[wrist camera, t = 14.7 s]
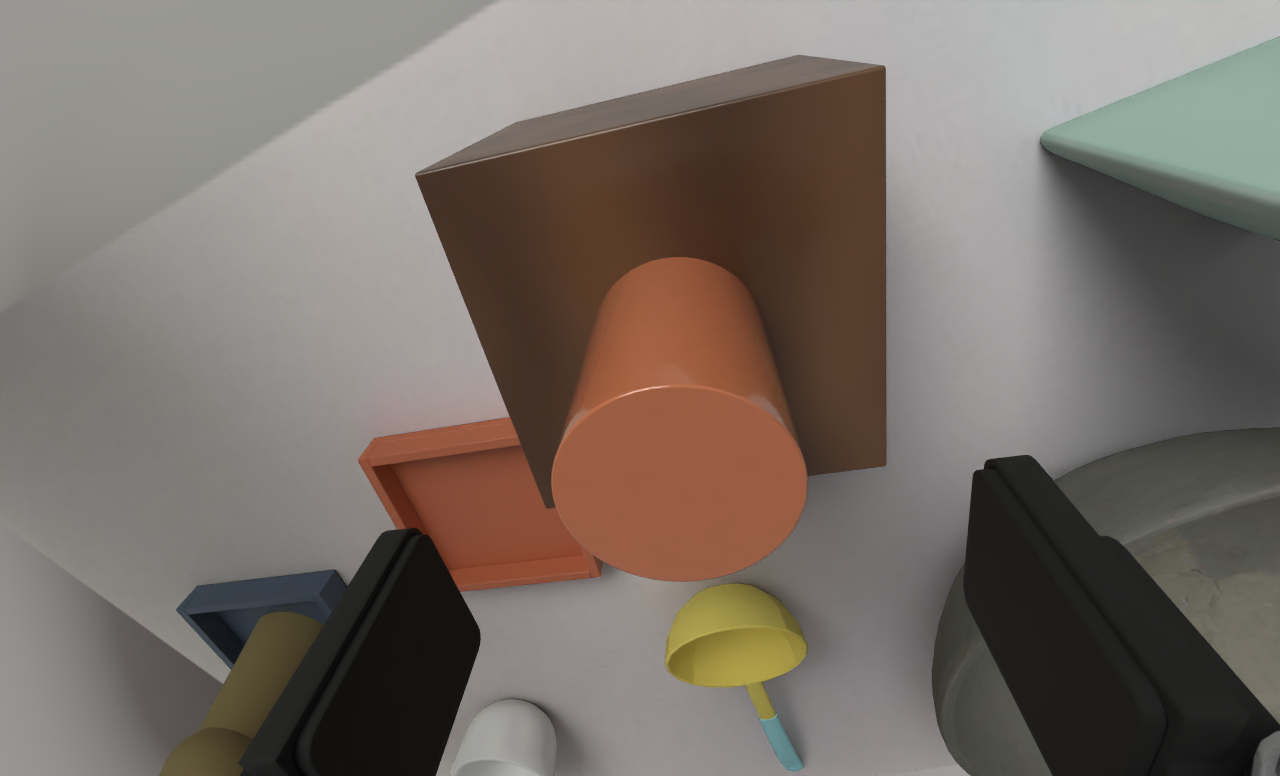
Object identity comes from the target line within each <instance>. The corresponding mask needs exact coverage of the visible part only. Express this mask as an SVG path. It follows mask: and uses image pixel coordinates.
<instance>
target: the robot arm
mask: <svg viewBox="0 0 1280 776" xmlns="http://www.w3.org/2000/svg"><path fill="white" fill-rule="evenodd" d="M963 590H964V596H965V600H966V603H967V606H968V608H969V610H970V612H971V614H972V616H973V618H974V620H975V622H976V624H977V626H978V628H979V630H980V632H981V634H982V636H983V638H984V640H985V642H986V644H987V646H988V648H989V650H990V652H991V654H992V656H993V658H994V660H995V662H996V664H997V666H998V668H999V670H1000V672H1001V674H1002V676H1003V678H1004V680H1005V682H1006V684H1007V686H1008V688H1009V690H1010V692H1011V694H1012V696H1013V698H1014V700H1015V702H1016V704H1017V706H1018V708H1019V710H1020V712H1021V714H1022V716H1023V718H1024V720H1025V722H1026V724H1027V726H1028V728H1029V730H1030V732H1031V734H1032V736H1033V738H1034V740H1035V742H1036V744H1037V746H1038V748H1039V750H1040V752H1041V754H1042V756H1043V758H1044V760H1045V762H1046V764H1047V766H1048V768H1049V770H1050V772H1051V774H1052V776H1280V724H1279V723H1278V722H1277V721H1276V720H1275V718H1274V717H1273V716H1272V715H1271V714H1270V713H1269V712H1268V710H1267V709H1266V708H1265V707H1264V706H1263V705H1262V703H1261V702H1260V701H1259V700H1258V699H1257V698H1256V697H1255V695H1254V694H1253V693H1252V692H1251V691H1250V690H1249V689H1248V687H1247V686H1246V685H1245V684H1244V683H1243V682H1242V681H1241V679H1240V678H1239V677H1238V676H1237V675H1236V674H1235V673H1234V671H1233V670H1232V669H1231V668H1230V667H1229V666H1228V665H1227V663H1226V662H1225V661H1224V660H1223V659H1222V658H1221V656H1220V655H1219V654H1218V653H1217V652H1216V651H1215V650H1214V648H1213V647H1212V646H1211V645H1210V644H1209V643H1208V642H1207V640H1206V639H1205V638H1204V637H1203V636H1202V635H1201V634H1200V632H1199V631H1198V630H1197V629H1196V628H1195V627H1194V626H1193V624H1192V623H1191V622H1190V621H1189V620H1188V619H1187V618H1186V616H1185V615H1184V614H1183V613H1182V612H1181V611H1180V610H1179V608H1178V607H1177V606H1176V605H1175V604H1174V603H1173V601H1172V600H1171V599H1170V598H1169V597H1168V596H1167V595H1166V593H1165V592H1164V591H1163V590H1162V589H1161V588H1160V587H1159V585H1158V584H1157V583H1156V582H1155V581H1154V580H1153V579H1152V577H1151V576H1150V575H1149V574H1148V573H1147V572H1146V571H1145V569H1144V568H1143V567H1142V566H1141V565H1140V564H1139V563H1138V561H1137V560H1136V559H1135V558H1134V557H1133V556H1132V554H1131V553H1130V552H1129V551H1128V550H1127V549H1126V548H1125V547H1124V546H1123V545H1122V544H1121V543H1120V542H1119V541H1118V540H1116V539H1114V538H1112V537H1110V536H1099V535H1098V533H1097V532H1096V531H1095V530H1094V529H1093V527H1092V526H1091V525H1090V524H1089V523H1088V521H1087V520H1086V519H1085V518H1084V517H1083V516H1082V514H1081V513H1080V512H1079V511H1078V510H1077V508H1076V507H1075V506H1074V505H1073V504H1072V502H1071V501H1070V500H1069V499H1068V498H1067V496H1066V495H1065V494H1064V493H1063V492H1062V491H1061V489H1060V488H1059V487H1058V486H1057V485H1056V483H1055V482H1054V481H1053V480H1052V479H1051V477H1050V476H1049V475H1048V474H1047V473H1046V472H1045V470H1044V469H1043V468H1042V467H1041V466H1040V464H1039V463H1038V462H1037V461H1036V460H1035V459H1034V458H1033V457H1032V456H1029V455H1021V456H1013V457H1004V458H996V459H989V460H987V461H986V463H985V465H984V469H983V470H976V471H975V472H974V474H973V481H972V492H971V503H970V514H969V526H968V537H967V548H966V559H965V570H964V581H963ZM480 640H481V639H480V629H479V627H478V625H477V623H476V621H475V619H474V617H473V615H472V614H471V612H470V610H469V608H468V606H467V604H466V602H465V601H464V599H463V597H462V595H461V593H460V591H459V589H458V587H457V586H456V584H455V582H454V580H453V578H452V576H451V574H450V573H449V571H448V569H447V567H446V565H445V563H444V561H443V560H442V558H441V556H440V554H439V552H438V550H437V548H436V547H435V545H434V543H433V541H432V539H431V538H430V537H429V536H428V535H424V534H423V533H422V532H421V530H419V529H417V528H407V529H399V530H390V531H385V532H383V533H382V534H381V535H380V536H379V537H378V539H377V541H376V542H375V544H374V545H373V547H372V549H371V550H370V552H369V553H368V555H367V557H366V558H365V560H364V562H363V563H362V565H361V566H360V568H359V570H358V571H357V573H356V574H355V576H354V578H353V579H352V581H351V582H350V584H349V586H348V587H347V589H346V590H345V592H344V594H343V595H342V597H341V598H340V600H339V602H338V603H337V605H336V607H335V608H334V610H333V611H332V613H331V615H330V616H329V618H328V619H327V621H326V623H325V624H324V626H323V627H322V629H321V631H320V632H319V634H318V635H317V637H316V639H315V640H314V642H313V644H312V645H311V647H310V648H309V650H308V652H307V653H306V655H305V656H304V658H303V660H302V661H301V663H300V664H299V666H298V668H297V669H296V671H295V672H294V674H293V676H292V677H291V679H290V680H289V682H288V684H287V685H286V687H285V689H284V690H283V692H282V693H281V695H280V697H279V698H278V700H277V701H276V703H275V705H274V706H273V708H272V709H271V711H270V713H269V714H268V716H267V717H266V719H265V721H264V722H263V724H262V726H261V727H260V729H259V730H258V732H257V734H256V735H255V737H254V738H253V740H252V742H251V743H250V745H249V746H248V748H247V750H246V751H245V753H244V754H243V756H242V758H241V759H240V761H239V762H238V764H239V765H240V766H241V767H243V768H244V769H243V771H242V772H241V774H240V776H436V773H437V770H438V767H439V764H440V761H441V758H442V755H443V753H444V750H445V747H446V744H447V741H448V738H449V735H450V732H451V729H452V726H453V723H454V720H455V717H456V715H457V712H458V709H459V706H460V703H461V700H462V697H463V694H464V691H465V688H466V685H467V682H468V679H469V676H470V674H471V671H472V668H473V665H474V662H475V659H476V656H477V653H478V650H479V646H480Z"/></svg>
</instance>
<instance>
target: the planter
mask: <svg viewBox="0 0 1280 776" xmlns="http://www.w3.org/2000/svg"><path fill="white" fill-rule="evenodd" d="M1040 141H1041V143H1042V145H1043V146H1044V147H1045V148H1046V149H1047V150H1048V151H1050V152H1052V153H1053V154H1056V155H1058V156H1061V157H1063V158H1066V159H1068V160H1071V161H1074V162H1076V163H1079V164H1081V165H1084V166H1086V167H1088V168H1091V169H1093V170H1096V171H1098V172H1101V173H1103V174H1106V175H1108V176H1110V177H1113V178H1115V179H1118V180H1120V181H1123V182H1125V183H1127V184H1130V185H1132V186H1134V187H1137V188H1139V189H1141V190H1144V191H1146V192H1149V193H1151V194H1153V195H1156V196H1158V197H1160V198H1163V199H1165V200H1168V201H1170V202H1172V203H1175V204H1177V205H1180V206H1182V207H1184V208H1187V209H1189V210H1192V211H1194V212H1197V213H1199V214H1201V215H1204V216H1207V217H1210V218H1213V219H1215V220H1218V221H1221V222H1224V223H1227V224H1230V225H1233V226H1236V227H1239V228H1242V229H1245V230H1248V231H1251V232H1254V233H1257V234H1260V235H1264V236H1267V237H1270V238H1273V239H1276V240H1279V241H1280V37H1277V38H1275V39H1272V40H1270V41H1267V42H1265V43H1262V44H1260V45H1257V46H1255V47H1252V48H1250V49H1247V50H1245V51H1242V52H1240V53H1237V54H1235V55H1232V56H1230V57H1227V58H1225V59H1222V60H1220V61H1217V62H1215V63H1212V64H1210V65H1207V66H1205V67H1202V68H1200V69H1197V70H1195V71H1192V72H1190V73H1187V74H1185V75H1182V76H1180V77H1177V78H1175V79H1172V80H1170V81H1167V82H1165V83H1162V84H1160V85H1157V86H1155V87H1153V88H1150V89H1148V90H1145V91H1143V92H1140V93H1138V94H1135V95H1133V96H1130V97H1128V98H1125V99H1123V100H1120V101H1118V102H1115V103H1113V104H1110V105H1108V106H1105V107H1103V108H1100V109H1098V110H1095V111H1093V112H1090V113H1088V114H1085V115H1083V116H1080V117H1078V118H1075V119H1073V120H1070V121H1068V122H1065V123H1063V124H1061V125H1058V126H1056V127H1053V128H1051V129H1049V130H1047V131H1046V132H1044V133H1043V135H1042V136H1041V138H1040Z"/></svg>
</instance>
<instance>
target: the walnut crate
mask: <svg viewBox="0 0 1280 776" xmlns="http://www.w3.org/2000/svg"><path fill="white" fill-rule="evenodd" d="M415 177H416V180H417V182H418V185H419V187H420V190H421V192H422V195H423V197H424V200H425V203H426V205H427V208H428V210H429V213H430V215H431V218H432V220H433V223H434V225H435V228H436V230H437V233H438V236H439V238H440V241H441V243H442V246H443V248H444V251H445V253H446V256H447V258H448V261H449V263H450V266H451V269H452V271H453V274H454V276H455V279H456V281H457V284H458V286H459V289H460V291H461V294H462V296H463V299H464V302H465V304H466V307H467V309H468V312H469V314H470V317H471V319H472V322H473V324H474V327H475V329H476V332H477V335H478V337H479V340H480V342H481V345H482V347H483V350H484V352H485V355H486V357H487V360H488V362H489V365H490V368H491V370H492V373H493V375H494V378H495V380H496V383H497V385H498V388H499V390H500V393H501V395H502V398H503V401H504V403H505V406H506V408H507V411H508V413H509V416H510V418H511V421H512V423H513V426H514V428H515V431H516V434H517V436H518V439H519V441H520V444H521V446H522V449H523V451H524V454H525V456H526V459H527V462H528V464H529V467H530V469H531V472H532V474H533V477H534V479H535V482H536V484H537V487H538V489H539V492H540V495H541V497H542V500H543V502H544V505H545V507H546V509H551V508H556V506H555V503H554V499H553V495H552V487H551V474H552V467H553V462H554V458H555V455H556V451H557V448H558V444H559V441H560V438H561V434H562V431H563V427H564V424H565V421H566V417H567V414H568V411H569V407H570V404H571V400H572V397H573V394H574V390H575V387H576V383H577V380H578V377H579V373H580V370H581V367H582V363H583V360H584V356H585V353H586V350H587V346H588V343H589V339H590V336H591V333H592V329H593V326H594V323H595V319H596V316H597V313H598V310H599V307H600V305H601V303H602V301H603V299H604V297H605V295H606V294H607V293H608V291H609V290H610V289H611V287H612V286H613V285H614V284H615V283H616V282H617V281H618V280H619V279H620V278H621V277H623V276H624V275H625V274H627V273H628V272H629V271H631V270H633V269H634V268H636V267H638V266H640V265H642V264H645V263H647V262H650V261H654V260H658V259H661V258H669V257H689V258H697V259H701V260H705V261H708V262H711V263H713V264H716V265H718V266H720V267H722V268H724V269H725V270H727V271H729V272H730V273H732V274H733V275H734V276H735V277H737V278H738V279H739V280H740V281H741V282H742V283H743V284H744V285H745V286H746V287H747V289H748V290H749V292H750V293H751V294H752V296H753V298H754V300H755V302H756V303H757V306H758V309H759V311H760V314H761V317H762V321H763V324H764V327H765V331H766V334H767V337H768V341H769V344H770V347H771V351H772V354H773V357H774V361H775V364H776V367H777V371H778V374H779V377H780V381H781V384H782V387H783V391H784V394H785V397H786V401H787V404H788V407H789V411H790V414H791V417H792V421H793V424H794V427H795V431H796V434H797V437H798V441H799V444H800V447H801V450H802V454H803V457H804V460H805V464H806V470H807V475H808V476H811V475H819V474H827V473H835V472H843V471H851V470H858V469H866V468H874V467H882V466H886V68H885V66H883V65H876V64H868V63H859V62H851V61H843V60H835V59H827V58H819V57H811V56H803V55H796V56H792V57H788V58H784V59H780V60H775V61H771V62H767V63H763V64H759V65H754V66H750V67H746V68H742V69H738V70H734V71H729V72H725V73H721V74H717V75H713V76H708V77H704V78H700V79H696V80H692V81H687V82H683V83H679V84H675V85H671V86H667V87H662V88H658V89H654V90H650V91H646V92H641V93H637V94H633V95H629V96H625V97H621V98H616V99H612V100H608V101H604V102H600V103H595V104H591V105H587V106H583V107H579V108H574V109H570V110H566V111H562V112H558V113H554V114H549V115H545V116H541V117H537V118H533V119H528V120H524V121H520V122H516V123H514V124H512V125H510V126H508V127H506V128H504V129H502V130H500V131H498V132H496V133H494V134H492V135H490V136H488V137H486V138H484V139H482V140H480V141H478V142H476V143H474V144H472V145H470V146H468V147H466V148H465V149H463V150H461V151H459V152H457V153H455V154H453V155H451V156H449V157H447V158H445V159H443V160H441V161H439V162H437V163H435V164H433V165H431V166H429V167H427V168H425V169H423V170H421V171H419V172H417V173H416V174H415Z"/></svg>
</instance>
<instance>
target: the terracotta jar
mask: <svg viewBox="0 0 1280 776" xmlns="http://www.w3.org/2000/svg"><path fill="white" fill-rule="evenodd" d="M551 487H552V495H553V499H554V503H555V506H556V509H557V512H558V514H559V516H560V518H561V520H562V522H563V524H564V525H565V527H566V528H567V530H568V531H569V533H570V534H571V535H572V536H573V537H574V538H575V539H576V541H577V542H578V543H579V544H580V545H582V546H583V547H584V548H585V549H586V550H587V551H588V552H590V553H591V554H593V555H594V556H595V557H597V558H598V559H600V560H602V561H603V562H605V563H607V564H609V565H611V566H613V567H615V568H617V569H620V570H622V571H624V572H627V573H630V574H633V575H637V576H640V577H645V578H649V579H654V580H662V581H676V582H688V581H701V580H708V579H714V578H718V577H722V576H726V575H729V574H732V573H735V572H738V571H741V570H743V569H745V568H747V567H749V566H751V565H754V564H755V563H757V562H759V561H760V560H762V559H763V558H765V557H767V556H768V555H769V554H770V553H772V552H773V551H774V550H776V549H777V548H778V547H779V546H780V545H781V544H782V543H783V542H784V541H785V540H786V539H787V537H788V536H789V535H790V533H791V532H792V531H793V529H794V528H795V526H796V524H797V523H798V521H799V519H800V517H801V514H802V512H803V509H804V506H805V503H806V497H807V492H808V475H807V470H806V464H805V460H804V457H803V454H802V450H801V447H800V444H799V441H798V437H797V434H796V431H795V427H794V424H793V421H792V417H791V414H790V411H789V407H788V404H787V401H786V397H785V394H784V391H783V387H782V384H781V381H780V377H779V374H778V371H777V367H776V364H775V361H774V357H773V354H772V351H771V347H770V344H769V341H768V337H767V334H766V331H765V327H764V324H763V321H762V317H761V314H760V311H759V309H758V306H757V303H756V302H755V300H754V298H753V296H752V294H751V293H750V292H749V290H748V289H747V287H746V286H745V285H744V284H743V283H742V282H741V281H740V280H739V279H738V278H737V277H735V276H734V275H733V274H732V273H730V272H729V271H727V270H725V269H724V268H722V267H720V266H718V265H716V264H713V263H711V262H708V261H705V260H701V259H697V258H689V257H669V258H661V259H658V260H654V261H650V262H647V263H645V264H642V265H640V266H638V267H636V268H634V269H633V270H631V271H629V272H628V273H627V274H625V275H624V276H623V277H621V278H620V279H619V280H618V281H617V282H616V283H615V284H614V285H613V286H612V287H611V289H610V290H609V291H608V293H607V294H606V295H605V297H604V299H603V301H602V303H601V305H600V307H599V310H598V313H597V316H596V319H595V323H594V326H593V329H592V333H591V336H590V339H589V343H588V346H587V350H586V353H585V356H584V360H583V363H582V367H581V370H580V373H579V377H578V380H577V383H576V387H575V390H574V394H573V397H572V400H571V404H570V407H569V411H568V414H567V417H566V421H565V424H564V427H563V431H562V434H561V438H560V441H559V444H558V448H557V451H556V455H555V458H554V462H553V467H552V474H551Z"/></svg>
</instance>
